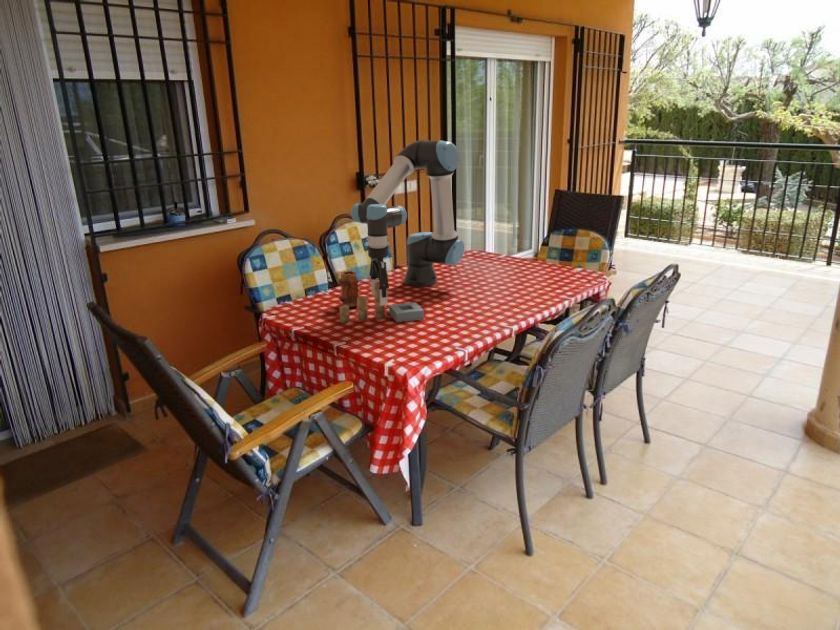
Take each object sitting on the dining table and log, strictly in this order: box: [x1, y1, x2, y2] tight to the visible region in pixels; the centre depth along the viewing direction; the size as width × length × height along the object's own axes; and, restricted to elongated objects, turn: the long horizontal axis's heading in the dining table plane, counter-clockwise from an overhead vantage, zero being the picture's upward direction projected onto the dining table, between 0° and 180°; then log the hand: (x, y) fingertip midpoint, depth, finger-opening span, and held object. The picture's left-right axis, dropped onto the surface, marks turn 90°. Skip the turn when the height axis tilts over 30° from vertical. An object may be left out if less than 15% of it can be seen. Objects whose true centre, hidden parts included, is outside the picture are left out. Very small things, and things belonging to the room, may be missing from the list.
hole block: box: [388, 302, 425, 323], centre depth 245 cm, size 11×11×4 cm
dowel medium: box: [357, 295, 368, 322], centre depth 241 cm, size 4×4×9 cm
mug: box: [338, 270, 360, 308], centre depth 254 cm, size 15×8×15 cm, turn 21°
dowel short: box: [339, 304, 351, 324], centre depth 240 cm, size 4×4×6 cm
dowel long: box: [374, 281, 386, 320], centre depth 242 cm, size 4×4×14 cm
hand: (379, 300), depth 242 cm, fingers open, 13 cm apart
